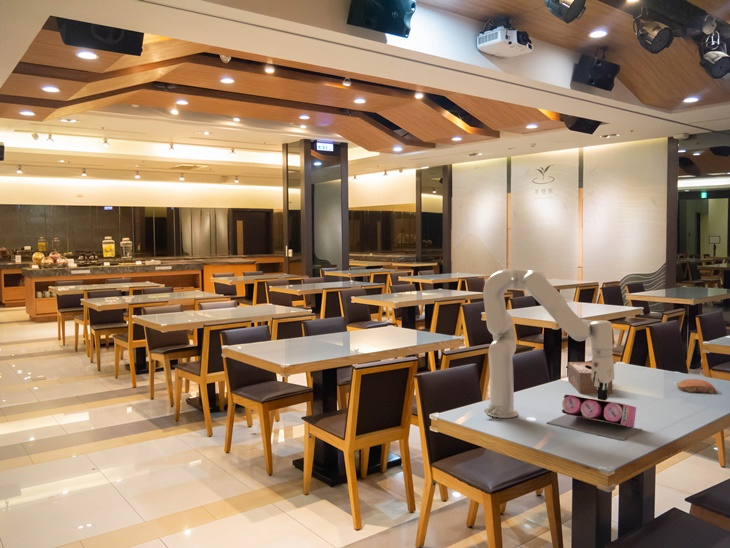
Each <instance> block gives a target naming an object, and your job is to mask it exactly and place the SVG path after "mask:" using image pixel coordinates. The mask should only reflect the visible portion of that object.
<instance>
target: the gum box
mask: <svg viewBox="0 0 730 548" xmlns="http://www.w3.org/2000/svg"><path fill="white" fill-rule="evenodd" d="M561 404H562V405H561V406H562V409H561V413H562V414H564V415H566V414H568V415H572V416H577V417H582V418H586V419H591V420H597V421H602V422H607V423H613V424H618V425H624V426H628V427H633V428H635V422H636V415H637V414H636V412H637V407H636V406H634V405H629V404H625V403H621V402H620V403H619V402H615V401H609V400H600V399H598V398H592V397H587V396H581V395H573V394H564V396H563V400H562V402H561Z"/></svg>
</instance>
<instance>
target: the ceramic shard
mask: <svg viewBox="0 0 730 548" xmlns="http://www.w3.org/2000/svg"><path fill="white" fill-rule="evenodd" d="M676 386H677V389H678V390H679V391H682V392H687V393H706V394H716V393H717V389H716V388H715V386H714V385H713V384H712V383H710V382H708V381H707V380H704V379H699V378H698V379H697V378H691V379H690V378H689V379H684V380H680V381H679V382H677V383H676Z"/></svg>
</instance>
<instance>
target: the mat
mask: <svg viewBox="0 0 730 548" xmlns="http://www.w3.org/2000/svg"><path fill="white" fill-rule="evenodd" d="M546 424H547V425H552V426H556V427H560V428H561V427H562V428H564V429H569V430H573V431H576V432H577V431H578V432H582V433H586V434H591V435H595V436H599V437H603V438H609V439H614V440H617V441H623V442H624V441H625V440H628V439H629V438H631V437H634V436H635V435H637V434H638V433H641V432H643V429H642V428H638V427H629V426H624V425H618V424H613V423H607V422H602V421H597V420H591V419H586V418H582V417H577V416H572V415H568V414H564V415H561V416H559V417H556V418H554V419H551V420H549V421H546Z"/></svg>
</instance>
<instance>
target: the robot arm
mask: <svg viewBox="0 0 730 548" xmlns="http://www.w3.org/2000/svg"><path fill="white" fill-rule="evenodd" d="M508 290H519V291H520V290H523V291H527V292H528V294H530V296H532V297H533V298H534V299H535V300H536V301H537V302H538V303H539V305H541V306H542V307H543V308H544V309H545V310H546V312H547V313H548V315H550V316H551V318H552V319H553V320H554V321H555V322H556V323H557V324H558V326H559V327H560V328H561V329H563V331H565V333H566V334H567V335H568V336H569V337H571V339H573V340H575V341H576V342H583V341H586V340H588V339H589V338H591V340H590V341H591V342H590V343H591V344H590V345H591V357H592V358H591V359H592V360H591V362H592V372H591V374H592V381H593V382H595V383H594V386H597V390H598V394H597V399H599V400H605V401H608V394H607V389H608V383H609V382H610V381H612V382H613V381H614V380H615V366H614V365H615V364H614V359H613V358H614V357H613V324H612V322H611V321H609V320H603V319H602V320H601V319H598V320H590V319H584V318H580V316H578V315H577V314H576V313H575V312H574V311H573V310H572V308H571V307H570V306H569V304H568V302H567V301H566V298H565V297H564V295H562V294H561V293H560V292H559V291H558V290H557V289H556V287H554V286H553V284H552V283H550V282H549V281H548V280H547V278H546V275H545V274H544V273H543V272H542V271H540V270H537V269H536V270H533V269H515V268H504V269H500V270H498V271H496V272H494V273H493V274H491V275H490V276H489V277H488V278H487V279H486V281H485V282H484V286H483V290H482V294H483V295H482V296H483V304H484V314H485V320H486V328H487V330H488V332H489V333H490V334H491V335H492V340H493V341H492V342H491V343H490V345H489V347H488V353H487V354H488V355H487V356H488V365H489V401H490V402H489V404H488V405H489V407H487V408H485V409H483V412H484V413H485V414H486V415H487V414H488V416H489V415H490V416H489V417H492V416H493V418H496V417H498V418H499V419H511V418H515V417H517V416H518V414H519V413H518V410H516V409H515V405H514V403H515V401H514V398H515V397H514V396H515V395H514V394H515V393H514V363H513V356H514V355H515V352H516V349H517V341H516V340H517V339H516V334H515V333H516V332H515V325H514V320H513V318H512V315H511V314H510V313H509V312H508V311H507V307H506V301H505V292H506V291H508ZM498 418H497V419H498Z"/></svg>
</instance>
